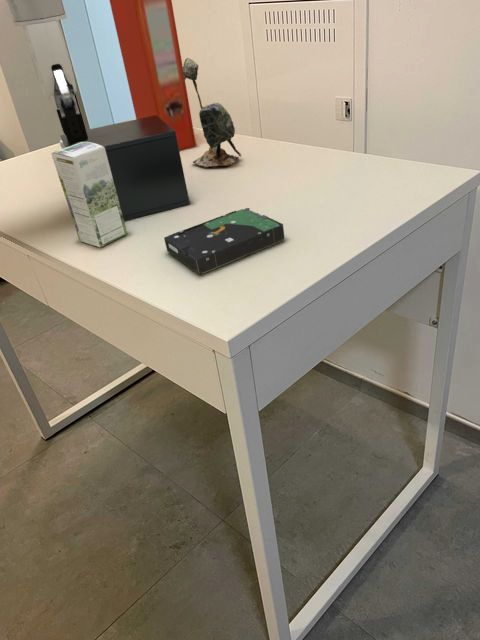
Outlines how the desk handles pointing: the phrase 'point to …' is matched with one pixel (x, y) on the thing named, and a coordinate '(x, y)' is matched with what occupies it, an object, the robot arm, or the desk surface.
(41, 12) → the robot arm
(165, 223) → the desk surface
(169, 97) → the file binder
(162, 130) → the bin lid
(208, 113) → the plant with pod
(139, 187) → the bin
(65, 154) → the syrup box
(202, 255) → the disk drive
